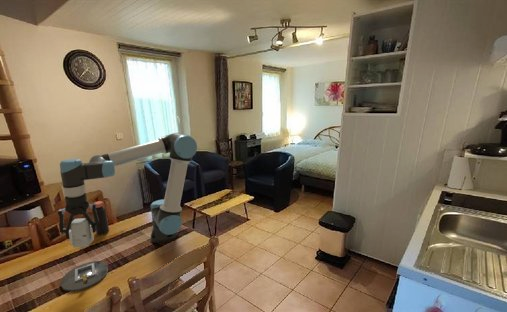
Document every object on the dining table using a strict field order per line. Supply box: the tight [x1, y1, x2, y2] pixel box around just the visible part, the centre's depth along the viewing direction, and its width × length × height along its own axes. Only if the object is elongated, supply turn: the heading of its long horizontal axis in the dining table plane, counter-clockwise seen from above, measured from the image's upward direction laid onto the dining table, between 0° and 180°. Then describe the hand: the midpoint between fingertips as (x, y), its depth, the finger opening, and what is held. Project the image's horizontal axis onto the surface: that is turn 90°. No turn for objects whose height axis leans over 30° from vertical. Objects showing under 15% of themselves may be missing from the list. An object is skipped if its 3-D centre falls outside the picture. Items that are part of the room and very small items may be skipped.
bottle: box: [92, 200, 110, 236], centre depth 146 cm, size 7×7×20 cm
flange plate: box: [60, 260, 109, 293], centre depth 110 cm, size 18×18×6 cm
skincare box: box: [70, 217, 93, 248], centre depth 107 cm, size 6×4×12 cm
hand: (82, 241), depth 108 cm, fingers closed on skincare box, 7 cm apart
